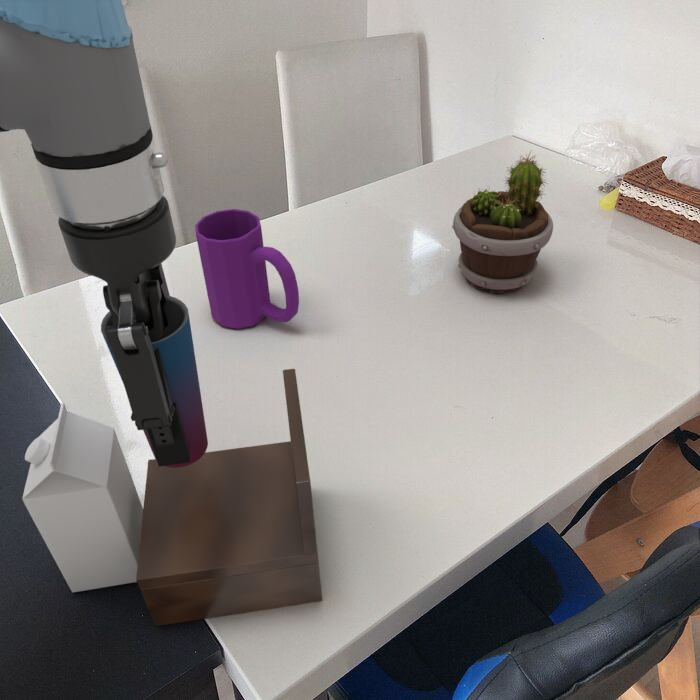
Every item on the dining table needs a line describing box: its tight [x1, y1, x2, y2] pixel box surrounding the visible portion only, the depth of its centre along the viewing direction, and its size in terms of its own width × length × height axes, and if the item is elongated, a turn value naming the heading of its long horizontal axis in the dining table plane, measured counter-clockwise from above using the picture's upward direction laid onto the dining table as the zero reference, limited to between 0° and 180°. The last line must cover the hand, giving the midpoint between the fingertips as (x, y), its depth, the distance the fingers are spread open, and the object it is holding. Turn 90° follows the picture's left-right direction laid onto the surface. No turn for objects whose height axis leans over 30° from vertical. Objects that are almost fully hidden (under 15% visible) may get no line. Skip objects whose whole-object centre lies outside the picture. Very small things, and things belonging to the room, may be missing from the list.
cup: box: [100, 295, 209, 468], centre depth 58 cm, size 7×7×15 cm
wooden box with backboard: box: [136, 368, 323, 627], centre depth 65 cm, size 16×14×18 cm
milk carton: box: [22, 402, 144, 593], centre depth 64 cm, size 7×7×19 cm
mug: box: [194, 208, 300, 330], centre depth 97 cm, size 9×16×15 cm, turn 58°
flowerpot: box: [451, 150, 554, 294], centre depth 102 cm, size 14×15×20 cm
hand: (176, 433), depth 62 cm, fingers closed on cup, 6 cm apart
